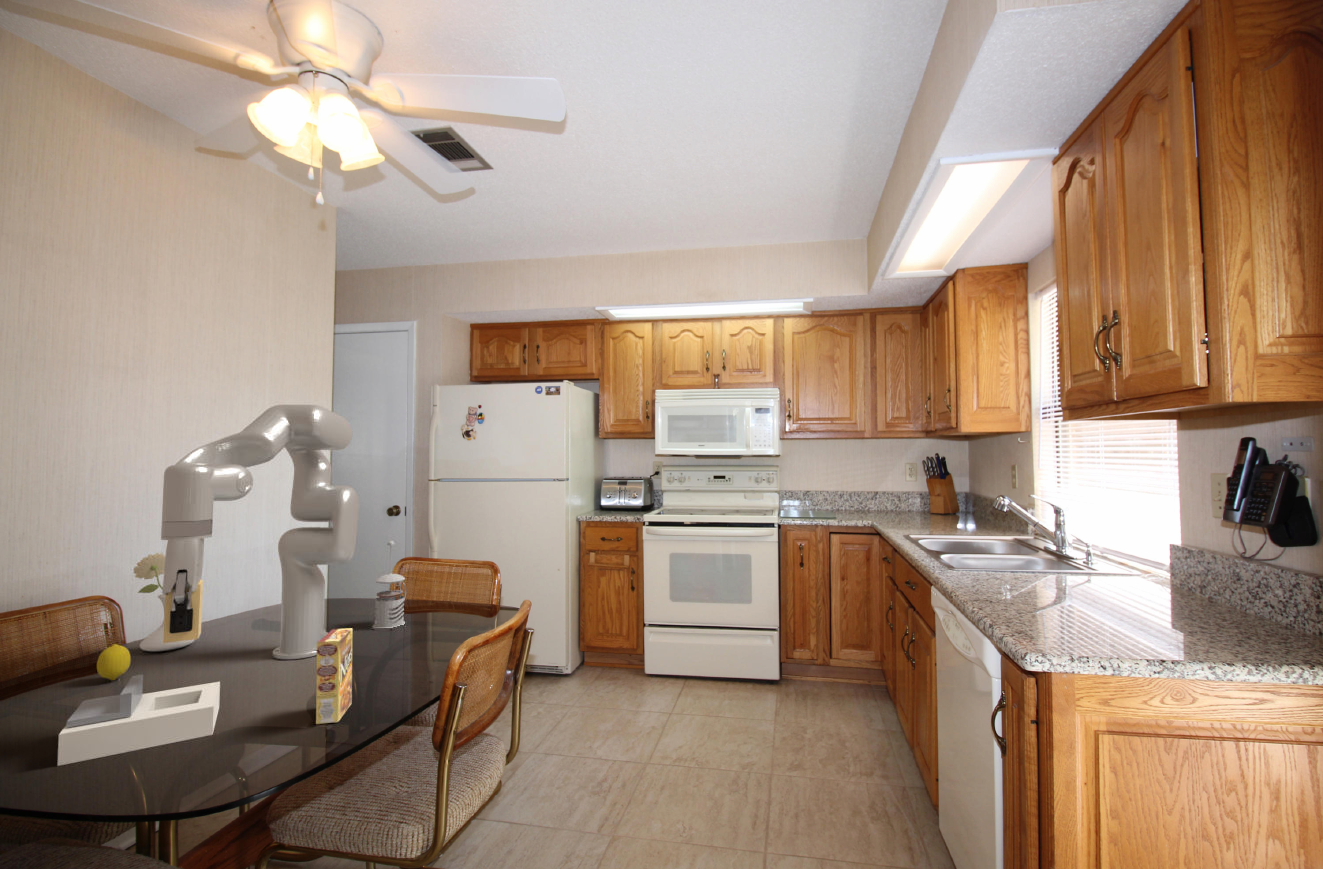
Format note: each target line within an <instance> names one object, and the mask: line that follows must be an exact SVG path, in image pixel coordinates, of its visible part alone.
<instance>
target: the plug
mask: <svg viewBox="0 0 1323 869" xmlns="http://www.w3.org/2000/svg"><path fill="white" fill-rule="evenodd" d="M189 588H190V585H189ZM189 590H190V589H185V592H189ZM203 592H204V579H201V581H200V583H199V584H198V587H197V590H196V591H195V592H193V594H192V605H191V609H193V625H192V630H191V631H189V632H180V633H170V611H172V597H173V588H172V591H171V592H168V593H166V594H168V595H165V614H164V613H163V620H164V636H163V643H170V642H178V641H186V640H194V639H195V640H198V639H199V638H200V636H201V634H202V619H203V618H202V617H203V616H202V615H203V597H204V596H203ZM185 597H187V598H188V596H185ZM187 603H188V602H187Z"/></svg>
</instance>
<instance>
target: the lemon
mask: <svg viewBox="0 0 1323 869" xmlns="http://www.w3.org/2000/svg"><path fill="white" fill-rule="evenodd" d="M131 660H132V659H131V653H130V650H128V648H127V647H126V646H124V645H120V644H117V643H113V644H112V645H111V646H108V647H107V648H105V649H103V651H102V652H101V653H100V654H99V656H98V659H97V662H96V670H97V673H98V674H99V676H100V677H102V678H104V679H109V680H110V681H111V682H112V681H116V679H118V678H119V677H121V676H122V675H124V674H125V673H126V672H127V671H128V670H129V668H130V666H131Z"/></svg>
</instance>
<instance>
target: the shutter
mask: <svg viewBox="0 0 1323 869" xmlns="http://www.w3.org/2000/svg"><path fill="white" fill-rule="evenodd" d="M143 680H144V674H138V675H133V676H131V677H130V679H129V680H128V682H127V683H126V684H125V686H124V688H123V689H122V691H121V692H120V694H115V695H110V696H105V697H104V696H103V697H97V698H91V699H90V698H89V699H84V700H83V701H82V702H81V703H80V704H79V705H78V707H77V709H75V710H74V712H73V713H72V714H71V716H70V717H69V718H68V719H67V721H66V725H67V728H68V727H73V726H79V725H84V724H90V723H96V722H101V721H107V720H113V719H118V718H124V717H129V716H131V715H132V714H133V712H134V710H135V708H136V706H137V705H138V703H139V701H140V699H141V698H142V694H143V688H144V687H143V685H144V684H143V683H144V682H143Z"/></svg>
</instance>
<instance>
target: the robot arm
mask: <svg viewBox="0 0 1323 869" xmlns="http://www.w3.org/2000/svg"><path fill="white" fill-rule="evenodd" d="M352 439H353V428H352V427H351V424H350V422H349V421H348V420H347V419H346V418H345V417H343V416H341V415H339V414H338V413H336V412H334V411H332V410H330V409H328V408H325V407H323V406H320V405H316V404H276V405H273V406H270V407H269V408H268V409H266V410H265V411H263V413H261V414H260V415H259V416H257V418H255V420H253V421H252V422H251V423H250V424H248V425H247V426H246V427H245V428H243V429H242V430H241V431H240V432H237V433H234V434H231V435H228V436H225V437H222V438H220V439H218V440H214V441H211V442H209V443H206V444H204V445H202V446H199V447H196V448H195V449H193V450H191V451H190V452H189V453H187V455H185V456H183V458H181V459H180V460H179V461H177V462H176V463H175V464H173V465H169V466H167V467H166V469H165V470H164V474H163V483H162V484H163V486H162V488H163V489H162V510H161V511H162V512H161V526H160V527H161V532H160V540H162V541H167V543H166V548H165V550H166V551H165V555H166V556H165V555H164V556H165V567H164V574H163V581H162V582H163V583H162V587H163V590H162V589H161V590H162V591H161V592H162V594H164V595H168V594H166V593H168V592H171V591H172V588H173V597H172V611H170V633H180V632H189V631H191V630H192V625H193V609H191V605H192V594H193V592H195V591H196V590H197V587H198V584H199V583H200V581H201V580H202V574H203V567H204V566H203V565H204V555H205V554H204V553H205V552H204V550H205V549H204V548H205V539H208V538H212V537H213V526H214V525H213V518H214V515H213V514H214V502H228V501H229V502H230V501H231V502H232V501H237V500H240V499H242V498H244V497H246V496H247V495H248V494H249V493H250V491H252V489H253V485H254V478H253V474H252V473H251V471H250V470H249V469H247V468H251V467H255V466H258V465H262V464H266V463H268V462H270V461H272V460H273V459H274V458H275V457H276V456H277V455H278V454H280V452H281V451H282V450H283V449H286V452H287V453H288V454H289V456H290V458H291V460H292V463H293V469H294V470H293V480H292V481H293V482H292V488H291V489H292V490H291V500H290V514H291V517H292V518H293V519H294V520H295V521H298V522H303V523H305V522H306V523H332V526H331V527H330V526H329V527H328V526H327V527H320V526H316V527H315V526H314V527H313V526H309V527H308V526H307V527H303V526H302V527H295V528H292V529H289V530H287V531H286V532H284V533H283V534H282V535H281V536H280V538H279V540H278V544H277V550H278V557H279V563H280V568H281V602H280V603H281V604H280V607H281V608H280V610H281V611H280V612H281V613H280V641H279V642H280V643H279V644H280V645H279V646H278V647H276V648H274V650H273V651H272V657H273V658H275V659H278V660H299V659H305V658H311V657H314V656H317V642H318V641H320V640H321V639H322V638H323V637H325V636H326V635H327V634H328V633H329V632H328V631H326V629H325V602H326V598H325V597H326V595H325V594H326V579H325V576H324V574H323V572H322V571H321V569H320V567H319V566H325V565H329V566H330V565H343V564H346V563H348V562H350V560H352V558H353V557H354V553H355V550H356V543H357V532H358V524H359V523H358V522H359V516H360V515H359V512H360V500H359V496H358V493H357V491H356V490H355V489H354V488H353V487H351V486H349V485H332V484H331V480H332V465H331V463H330V461H329V459H328V458H327V456H326V455H325V454H324V453H323V451H340V450H344V449H346V448H347V447H348V446H349V445H351V444H350V443H351V442H352ZM189 585H190V588H189ZM185 589H190V590H189V592H185ZM185 596H188V598H187V597H185ZM187 602H188V603H187Z"/></svg>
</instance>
